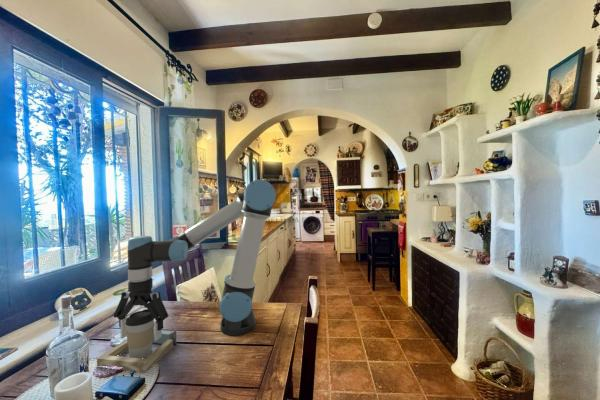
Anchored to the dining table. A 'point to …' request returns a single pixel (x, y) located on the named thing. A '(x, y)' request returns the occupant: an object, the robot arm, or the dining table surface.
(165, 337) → the leg
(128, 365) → the frame
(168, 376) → the dining table surface
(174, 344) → the pin
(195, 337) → the dining table surface
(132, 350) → the coffee cup
